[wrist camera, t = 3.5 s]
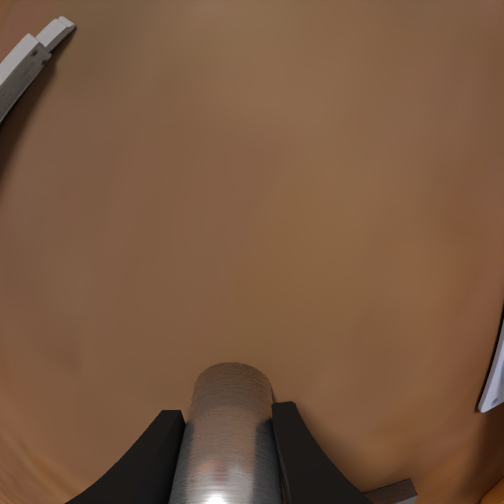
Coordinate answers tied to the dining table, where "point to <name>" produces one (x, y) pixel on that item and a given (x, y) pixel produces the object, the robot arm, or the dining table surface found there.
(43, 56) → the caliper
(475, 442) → the dining table surface
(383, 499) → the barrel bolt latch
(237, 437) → the steel pin
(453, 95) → the dining table surface
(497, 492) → the multimeter
